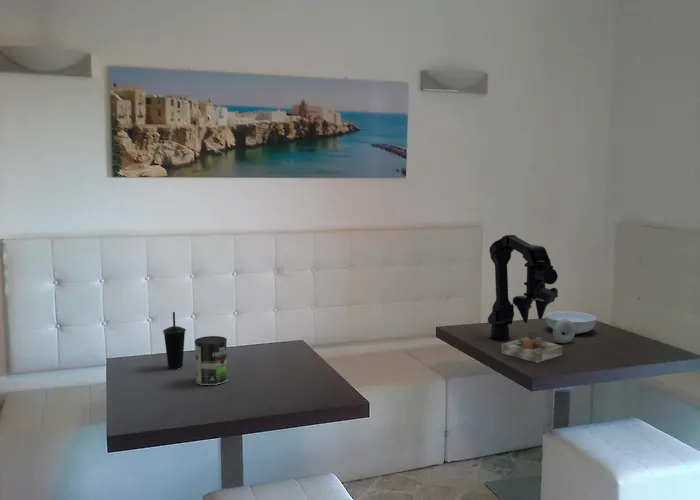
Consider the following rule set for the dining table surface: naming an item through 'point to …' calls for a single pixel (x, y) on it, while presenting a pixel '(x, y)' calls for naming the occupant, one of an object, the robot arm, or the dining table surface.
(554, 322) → the serving bowl
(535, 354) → the grey square tray
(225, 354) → the coffee can
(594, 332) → the dining table surface
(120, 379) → the dining table surface
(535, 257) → the robot arm
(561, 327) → the donut
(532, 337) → the brown u-shaped block
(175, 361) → the drinking cup
